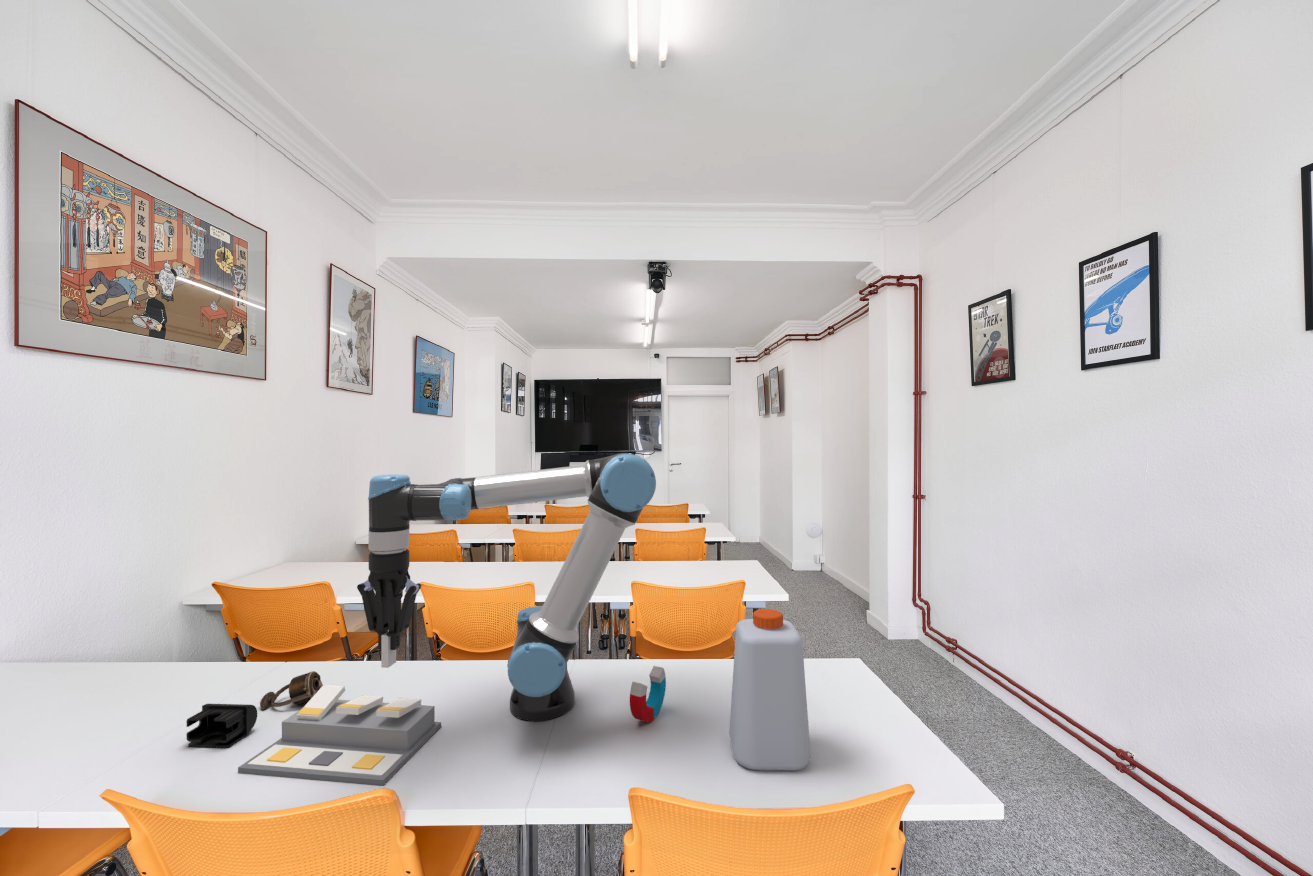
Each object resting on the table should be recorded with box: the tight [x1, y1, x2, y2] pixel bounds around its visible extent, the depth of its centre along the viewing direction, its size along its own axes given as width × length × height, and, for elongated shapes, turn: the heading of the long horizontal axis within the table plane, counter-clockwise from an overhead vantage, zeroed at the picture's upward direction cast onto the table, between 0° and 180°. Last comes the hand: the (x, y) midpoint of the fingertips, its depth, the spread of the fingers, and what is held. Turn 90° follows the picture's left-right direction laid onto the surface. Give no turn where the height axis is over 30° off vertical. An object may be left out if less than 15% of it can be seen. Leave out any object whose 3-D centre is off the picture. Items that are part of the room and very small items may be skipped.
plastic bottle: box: [728, 608, 812, 772], centre depth 108 cm, size 15×15×28 cm
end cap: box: [186, 703, 258, 749], centre depth 113 cm, size 10×7×7 cm
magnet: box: [629, 665, 667, 723], centre depth 120 cm, size 12×3×10 cm, turn 150°
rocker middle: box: [336, 695, 384, 715], centre depth 113 cm, size 5×8×1 cm, turn 173°
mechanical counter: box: [259, 670, 324, 710], centre depth 128 cm, size 7×13×10 cm
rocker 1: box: [297, 684, 346, 720], centre depth 114 cm, size 5×8×1 cm, turn 173°
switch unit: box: [237, 699, 442, 786], centre depth 109 cm, size 30×20×5 cm, turn 83°
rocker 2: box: [376, 697, 422, 718], centre depth 112 cm, size 5×8×1 cm, turn 173°
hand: (388, 664), depth 109 cm, fingers closed
